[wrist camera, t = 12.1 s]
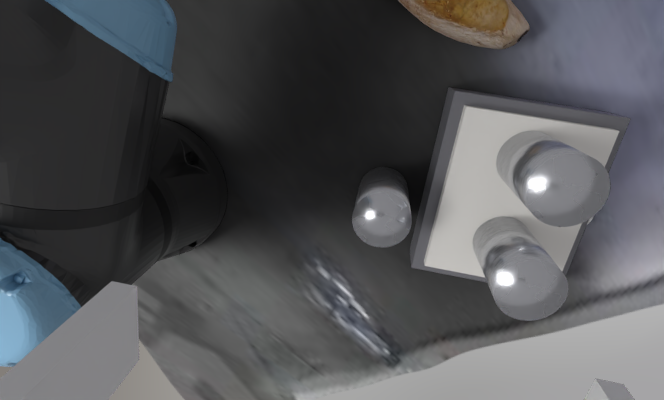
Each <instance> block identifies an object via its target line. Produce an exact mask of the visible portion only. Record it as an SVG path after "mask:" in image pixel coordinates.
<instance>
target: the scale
mask: <svg viewBox="0 0 664 400" xmlns="http://www.w3.org/2000/svg"><path fill="white" fill-rule="evenodd" d="M629 122H630V118H627V117H623V116H619V115H616V114H612V113H608V112H604V111H597V110H591V109H584V108H578V107H572V106H565V105H559V104H553V103H546V102H540V101H534V100H527V99H521V98H514V97H508V96H502V95H495V94H489V93H483V92H476V91H470V90H464V89H457V88H451V87H448V91H447V95H446V100H445V104H444V108H443V112H442V116H441V120H440V125H439V129H438V133H437V137H436V141H435V145H434V150H433V154H432V158H431V162H430V166H429V170H428V175H427V179H426V183H425V187H424V191H423V195H422V200H421V204H420V208H419V212H418V216H417V220H416V225H415V229H414V233H413V237H412V241H411V245H410V258H411V268H416V269H421V270H426V271H431V272H436V273H442V274H447V275H452V276H457V277H462V278H467V279H472V280H478V281H483V282H487V281H486V278H485V276H484V274H483V271H482V269H481V266H480V264H479V262H478V259H477V257H476V255H475V252H474V250H473V244H472V243H473V237H474V234H475V232H476V230H477V229H478V228H479V227H480V226H481V225H482V224H483V223H484V222H486V221H487V220H489V219H492V218H495V217H500V216H507V217H513V218H516V219H518V220H520V221H521V222H523V223H524V224H525V225H526V226H527V228H528V229H529V230H530V232H531V233H532V234H533V235H534V237H535V238H536V239H537V240H538V242H539V243H540V244H541V246H542V247H543V248H544V249H545V251H546V252H547V253H548V254H549V256H550V257H551V258H552V260H553V261H554V262H555V263H556V265H557V266H558V267H559V268H560V270H561V271H562V272H563V274H564V275H565V277H566V274H567V272H568V269H569V267H570V265H571V262H572V260H573V257H574V255H575V253H576V250H577V248H578V245H579V243H580V240H581V238H582V236H583V233H584V231H585V228H586V226H587V224H589V223H590V222H591V220H592V219H593V217H594V216H593V217H592V218H590V219H589V220H587V221H585V222H583V223H581V224H578V225H574V226H569V227H556V226H551V225H548V224H545V223H543V222H541V221H540V220H538V219H537V218H536V217H535V216H534V215H533V214H532V213H531V212H530V211H529V209H528V208H527V207H526V206H525V205H524V204H523V203H522V202H521V200H520V199H519V198H518V197H517V196H516V195H515V194H514V193H513V191H512V190H511V189H510V188H509V187H508V186H507V185H506V183H505V182H504V181H503V180H502V179H501V177H500V176H499V174H498V171H497V168H496V159H497V155H498V152H499V150H500V148H501V147H502V145H503V144H504V143H505V142H506V141H507V140H508V139H509V138H511V137H512V136H514V135H516V134H518V133H520V132H524V131H540V132H543V133H546V134H548V135H550V136H552V137H554V138H556V139H558V140H559V141H561V142H563V143H565V144H567V145H569V146H571V147H573V148H575V149H577V150H579V151H581V152H583V153H585V154H587V155H589V156H591V157H593V158H594V159H596V160H598V161H599V162H600V163H601V164H602V165H603V166H604V167H605V169H606V170H607V172H608V173H609V170H610V168H611V165H612V163H613V160H614V158H615V156H616V153H617V151H618V148H619V146H620V143H621V141H622V139H623V136H624V134H625V131H626V129H627V126H628V124H629Z"/></svg>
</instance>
